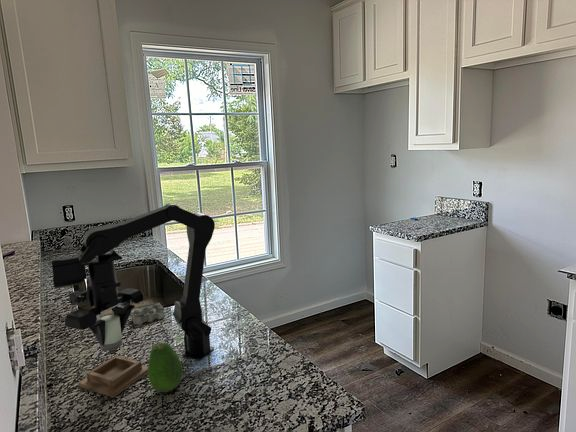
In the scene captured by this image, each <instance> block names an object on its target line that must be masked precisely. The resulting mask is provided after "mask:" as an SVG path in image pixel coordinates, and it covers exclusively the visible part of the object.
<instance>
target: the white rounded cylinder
mask: <svg viewBox="0 0 576 432" xmlns="http://www.w3.org/2000/svg"><path fill="white" fill-rule="evenodd" d="M101 320H105V342H104V345H100V344H99V347H100V350H101V351H104V352H105V351H106V352H107V351H114V350H116V349H119V348H121V347H122V346H123V342H124V341H123V336H122V335H123V334H122V335H121V326H120V317H119V316H118V315H114V314H110V315H105V316H102V317H101Z"/></svg>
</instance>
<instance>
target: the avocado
mask: <svg viewBox="0 0 576 432" xmlns="http://www.w3.org/2000/svg"><path fill="white" fill-rule="evenodd" d="M147 366H148V373H147V374H148V380H149V383H150V385H151V386H152V388H153V389H154V390H155V392H159V393H169V392H172V391H173V390H174V389H176V388H177V387H178V386H179V385H180V383H181V381H182V377H183V373H184V372H183V366H182V362H181V359H180V358H179V356H178V354H177V352H176V351H175V350H174V348H173V347H172V345H170V344H169V343H166V342H159V343H157V344H155V345H154V346H153V348H152V349H151V351H150V355H149V360H148V365H147Z"/></svg>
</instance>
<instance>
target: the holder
mask: <svg viewBox="0 0 576 432" xmlns="http://www.w3.org/2000/svg"><path fill="white" fill-rule="evenodd" d="M148 366H149V365H145V364H142V361H139V360H135V359H132V358H128V357H124V356H120V355H114V356H113V357H110V358H109V359H107V360H105V361H104V362H102V363H101V364H99V365H98V366H96V367H94V368H93V369H90V370H89V371H88V372H86V377H85V378H83V379H81V380H80V381H79V382H77V386H78V387H80V388H83V389H86V390H89V391H91V392H95V393H98V394H101V395H104V396H107V397H110V398H116V396H118V395H120V394H121V393H122V392H123V391H125V390H126V389H127V388H129V387H130V386H132V385H133V384H134V383H137V382H138V381H139V380H140V379H142V378H143V377H144V376H146V375H147V374H148Z"/></svg>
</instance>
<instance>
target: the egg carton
mask: <svg viewBox="0 0 576 432" xmlns="http://www.w3.org/2000/svg"><path fill="white" fill-rule="evenodd" d="M165 311H166V310H165V308H164V306H163V305H162V304H161V303H160V302H157V303H155V304H151V305H150V306H149V305H146V306H143V307H141V308H140V307H139V308H133V309H132V311H131V313H130V315H129V316H130V321H131V322H133V325H135V326H136V325H142V324H144V323H145V322H149V323H150V322H153V321H154V320H158V319H159V320H161V319H163V318H164V317H165Z"/></svg>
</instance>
